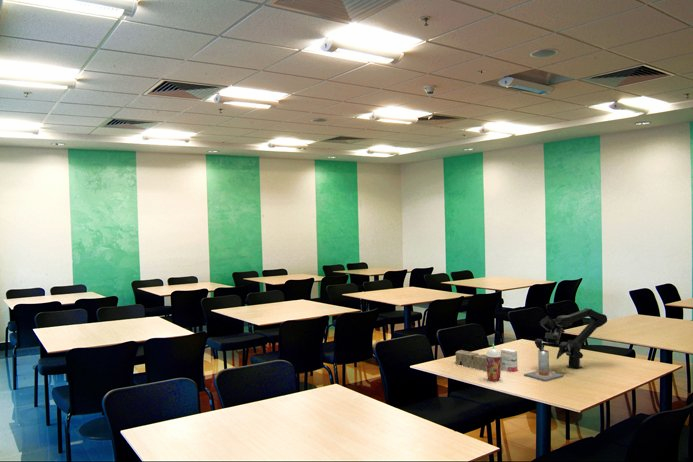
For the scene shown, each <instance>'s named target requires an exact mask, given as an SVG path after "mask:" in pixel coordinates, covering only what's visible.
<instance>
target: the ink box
mask: <svg viewBox="0 0 693 462" xmlns="http://www.w3.org/2000/svg"><path fill="white" fill-rule="evenodd" d="M500 354H501V358H502V362H501V371H502V370H503V371H506V372H507V371H508V372H510V373H511V372H512V373H514V372H517V371H518V367H519V366H518V350H514V349H509V348H502V349H500Z"/></svg>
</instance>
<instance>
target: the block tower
mask: <svg viewBox="0 0 693 462" xmlns="http://www.w3.org/2000/svg"><path fill="white" fill-rule="evenodd" d="M501 362H502V358H501ZM457 364H458V366H462V365H463V367H466V366H467V368H470V367H471V369H474V368H475V370H479V369H480V370H479V371H483V370H484V371H483V372H487V365H486V354H483V353H482V354H479V353H478V352H477V353H476V352H472V351H467V350H463V349H460V350H457V351H455V365H457ZM461 364H462V365H461Z"/></svg>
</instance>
